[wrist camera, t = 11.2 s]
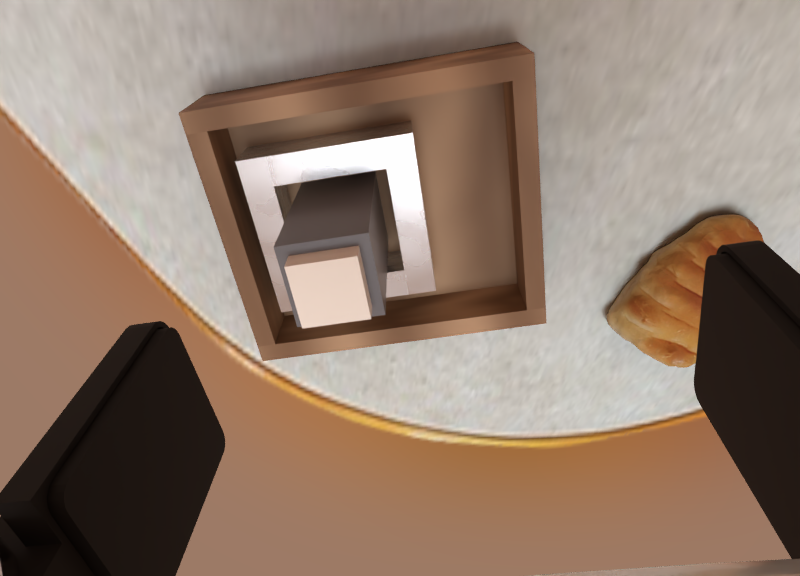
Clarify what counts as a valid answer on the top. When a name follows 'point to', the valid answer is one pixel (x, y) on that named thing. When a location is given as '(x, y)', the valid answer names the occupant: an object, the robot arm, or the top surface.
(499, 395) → the top surface
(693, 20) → the top surface
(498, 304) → the walnut box
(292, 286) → the plug
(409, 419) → the top surface
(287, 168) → the socket
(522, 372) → the top surface
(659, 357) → the pastry
